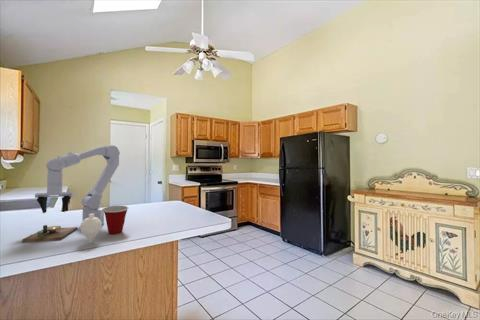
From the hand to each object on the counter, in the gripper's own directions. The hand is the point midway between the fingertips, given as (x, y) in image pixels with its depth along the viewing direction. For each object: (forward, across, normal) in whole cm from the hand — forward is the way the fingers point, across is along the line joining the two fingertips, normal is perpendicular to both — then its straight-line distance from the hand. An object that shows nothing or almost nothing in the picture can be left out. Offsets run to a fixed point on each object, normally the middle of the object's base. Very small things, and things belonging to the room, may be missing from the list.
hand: (54, 212), depth 111 cm
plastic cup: (+10, -28, +10) cm, 31 cm away
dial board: (+9, -1, +6) cm, 11 cm away
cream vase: (+10, -20, +23) cm, 32 cm away
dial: (+6, -1, +8) cm, 10 cm away
